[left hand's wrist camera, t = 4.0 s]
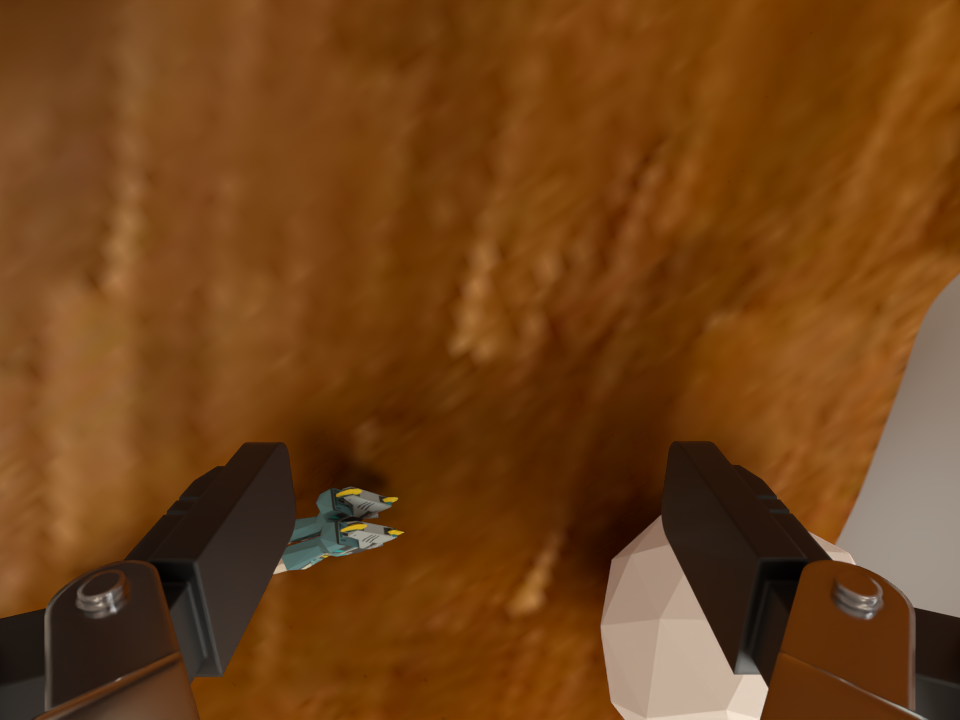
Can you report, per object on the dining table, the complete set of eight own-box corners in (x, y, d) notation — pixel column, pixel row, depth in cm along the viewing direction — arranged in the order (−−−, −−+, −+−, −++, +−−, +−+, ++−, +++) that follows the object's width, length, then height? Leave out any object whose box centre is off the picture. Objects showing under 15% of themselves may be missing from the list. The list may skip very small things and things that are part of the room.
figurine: (365, 556, 36) (30, 664, 42) (417, 559, 43) (125, 651, 49) (350, 456, 39) (40, 570, 45) (401, 474, 46) (128, 570, 52)
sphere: (675, 546, 56) (700, 792, 45) (547, 490, 45) (539, 795, 34) (891, 519, 43) (997, 849, 33) (786, 432, 32) (891, 883, 22)
